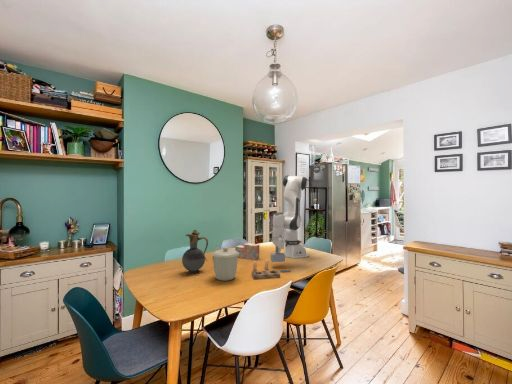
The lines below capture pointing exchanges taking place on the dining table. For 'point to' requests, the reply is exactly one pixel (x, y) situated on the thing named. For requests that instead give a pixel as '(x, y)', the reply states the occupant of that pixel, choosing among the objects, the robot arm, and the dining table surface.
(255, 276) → the socket board
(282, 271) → the card
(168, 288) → the dining table surface
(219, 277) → the canister
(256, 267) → the pin
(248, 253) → the floral patterned box
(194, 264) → the pitcher
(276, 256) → the housing
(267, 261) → the pin
